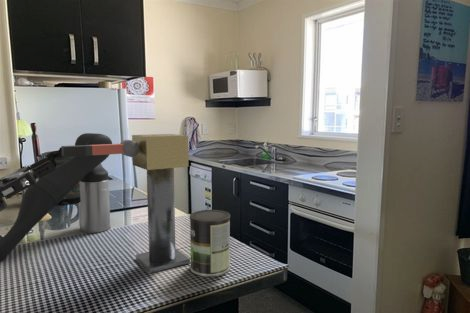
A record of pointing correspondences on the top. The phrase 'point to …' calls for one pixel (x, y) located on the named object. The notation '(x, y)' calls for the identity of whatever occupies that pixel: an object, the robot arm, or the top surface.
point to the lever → (102, 149)
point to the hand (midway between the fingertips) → (50, 162)
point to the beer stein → (74, 194)
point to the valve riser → (161, 197)
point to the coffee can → (210, 242)
